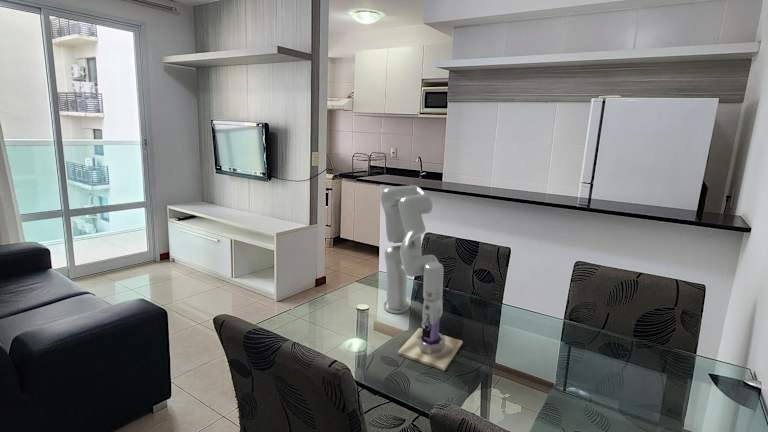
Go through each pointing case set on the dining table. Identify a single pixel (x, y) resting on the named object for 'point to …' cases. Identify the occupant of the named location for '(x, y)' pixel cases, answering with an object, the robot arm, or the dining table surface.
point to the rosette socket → (431, 350)
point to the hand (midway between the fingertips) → (431, 331)
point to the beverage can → (433, 333)
